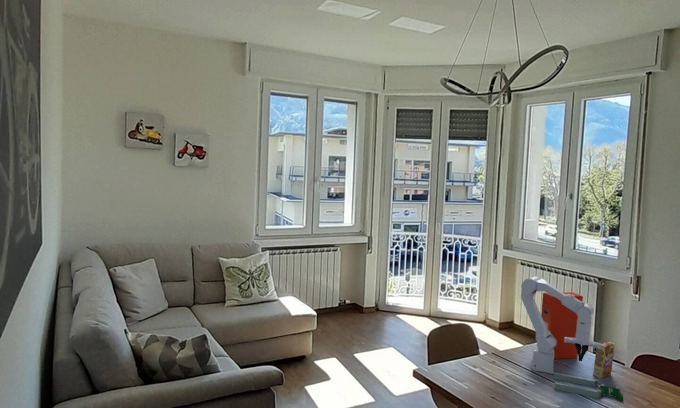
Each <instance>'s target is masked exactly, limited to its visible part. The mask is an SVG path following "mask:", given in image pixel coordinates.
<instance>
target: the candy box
mask: <svg viewBox="0 0 680 408" xmlns="http://www.w3.org/2000/svg"><path fill="white" fill-rule="evenodd" d="M599 343H600V344H601V345H600V349H599V348H596V347H595V348H596V349H595V350H596V351H595V356H594V357H595V358H594V362H593V363H594V364H593V370H592V371H593V372H592V375H593V376H595V377H596V378H599V379H603V378H605V377H608V376H610V375H612V368H613V363H614V355H615V354H614V353H615V346H616V344H615V343H614V342H611V341H607V340H606V341H603V342H599Z"/></svg>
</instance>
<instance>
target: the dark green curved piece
mask: <svg viewBox="0 0 680 408" xmlns="http://www.w3.org/2000/svg"><path fill="white" fill-rule="evenodd" d="M598 386H599V387H598V389H597V390H601V397H600V398H603V397H604V396H610V397H614V398H615V397H616V398H617V400H618V401H620V402H624V395H623V394H622V391H621V389H620V387H619V386H615V387H612V386H609V385H605V384H604V383H602V384H600V385H598Z"/></svg>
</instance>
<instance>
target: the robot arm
mask: <svg viewBox="0 0 680 408" xmlns="http://www.w3.org/2000/svg"><path fill="white" fill-rule="evenodd" d="M520 287H521V290H520V291H521V293H520V298H521V300H522V302H523V305H524V308H525V310H526V312H527V315H528V317H529V320H530V322H531V325H532V327H533V329H534V332H535V341H536V347H537V348H533V350H532V351H533V352H532V353H533V354H532V360H531V370H533V371H537V372H540V373H541V372H543V373H545V374H546V373H547V374H551V375H554V372H555V371H554V369H555V368H554V361H555V359H554V352H555V351H554V347H555V346H556V344H557V341H556V339H555V338H554V337H553V336H552V334H551V332H550V331H549V330H547V328H546V326H545V323H544V321H543V319H542V316H541V311H540V310H539V307H538V304H537V302H536V299H535V295H536V293H537V292H544V293H549V294H550V295H552V296H554V297H556V298H557V299H559V300H561V302H562V305H564V306H566V307H567V308H569V309H570V310H572V311H573V312H575V313H577V316H578V320H577V328H576V337H575V338H569V337H565V338H564V342H566V343H567V342H568V343H574V344H575V347H576V349H577V352H578V361H579V362H583V359H584V356H585V355H586V353H587V352H588V351H589V347H592V348H599V349H600V345H601V344H600V343H601V342H597V341H596V342H595V341H592V340H591V330H592V329H591V328H592V320H593V319H592V316H594V315H593V314H594V312H595V308H594V307H593V306H592V305H591V304H590V303H585V301H584V300H583V301H582V302H581V301H580V300H578V299H576V298H575V296H574V295H570V294H567V295H565V294H563V293H564V292H562V291H561V290H559V289H558V288H557V287H555V286H553V285H552V284H550V283H549V282H547V281H546V280H545V278H541V277H539V276H537V275H532V276H531V277H528V278H526V279H524V280H523V282H521V285H520Z"/></svg>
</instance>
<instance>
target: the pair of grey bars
mask: <svg viewBox="0 0 680 408" xmlns="http://www.w3.org/2000/svg"><path fill="white" fill-rule="evenodd" d="M553 379H554V380H557V381H564V382H568V383H574V384H578V385H584V386H589V387H594V388H599V387H598V386H599V379H590V378H584V377H581V376H580V377H579V376H575V375H569V374H564V373H559V372H555V371H554V374H553ZM554 390H558V391H563V392H568V393H572V394H577V395H582V396H587V397H592V398H598V399H601V398H602V397H601V390H598V389H597V390H595V389H589V388H586V387H580V386H574V385H569V384H565V383H560V382H556V381H555V382H554Z"/></svg>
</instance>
